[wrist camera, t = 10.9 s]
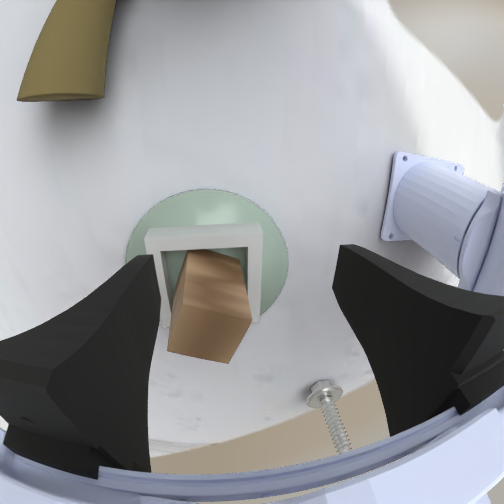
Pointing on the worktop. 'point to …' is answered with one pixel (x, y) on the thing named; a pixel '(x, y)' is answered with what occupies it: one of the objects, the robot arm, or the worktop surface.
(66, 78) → the olive cylinder
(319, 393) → the screw
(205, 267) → the brown tall block
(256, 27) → the worktop surface
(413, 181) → the robot arm
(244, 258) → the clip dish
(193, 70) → the worktop surface
